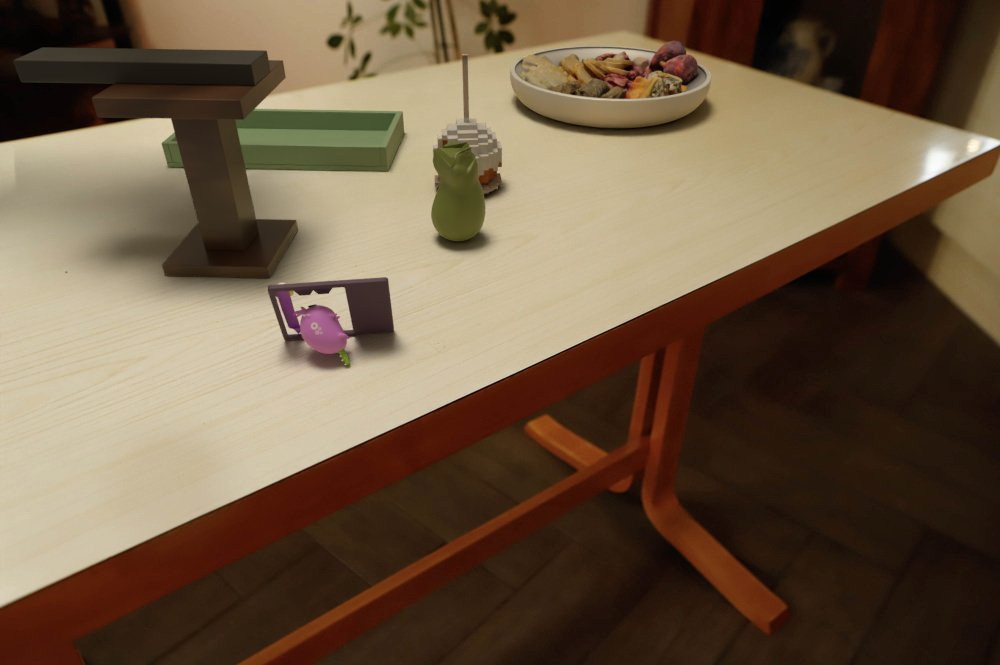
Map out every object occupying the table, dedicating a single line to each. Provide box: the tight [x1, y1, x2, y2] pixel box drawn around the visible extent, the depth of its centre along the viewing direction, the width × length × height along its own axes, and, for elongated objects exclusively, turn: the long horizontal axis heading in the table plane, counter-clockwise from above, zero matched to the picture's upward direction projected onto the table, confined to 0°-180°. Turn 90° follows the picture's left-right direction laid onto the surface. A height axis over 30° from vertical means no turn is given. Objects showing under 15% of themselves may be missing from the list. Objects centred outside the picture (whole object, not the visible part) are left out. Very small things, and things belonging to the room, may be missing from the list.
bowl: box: [509, 40, 712, 129], centre depth 109 cm, size 30×30×8 cm
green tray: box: [161, 108, 405, 172], centre depth 94 cm, size 28×14×3 cm, turn 88°
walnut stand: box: [91, 59, 299, 279], centre depth 67 cm, size 12×12×17 cm
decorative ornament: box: [432, 53, 503, 195], centre depth 81 cm, size 8×8×15 cm
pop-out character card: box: [267, 276, 395, 366], centre depth 56 cm, size 7×5×9 cm
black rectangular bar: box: [13, 46, 270, 86], centre depth 62 cm, size 20×4×2 cm, turn 88°
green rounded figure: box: [430, 141, 486, 242], centre depth 72 cm, size 6×5×10 cm
